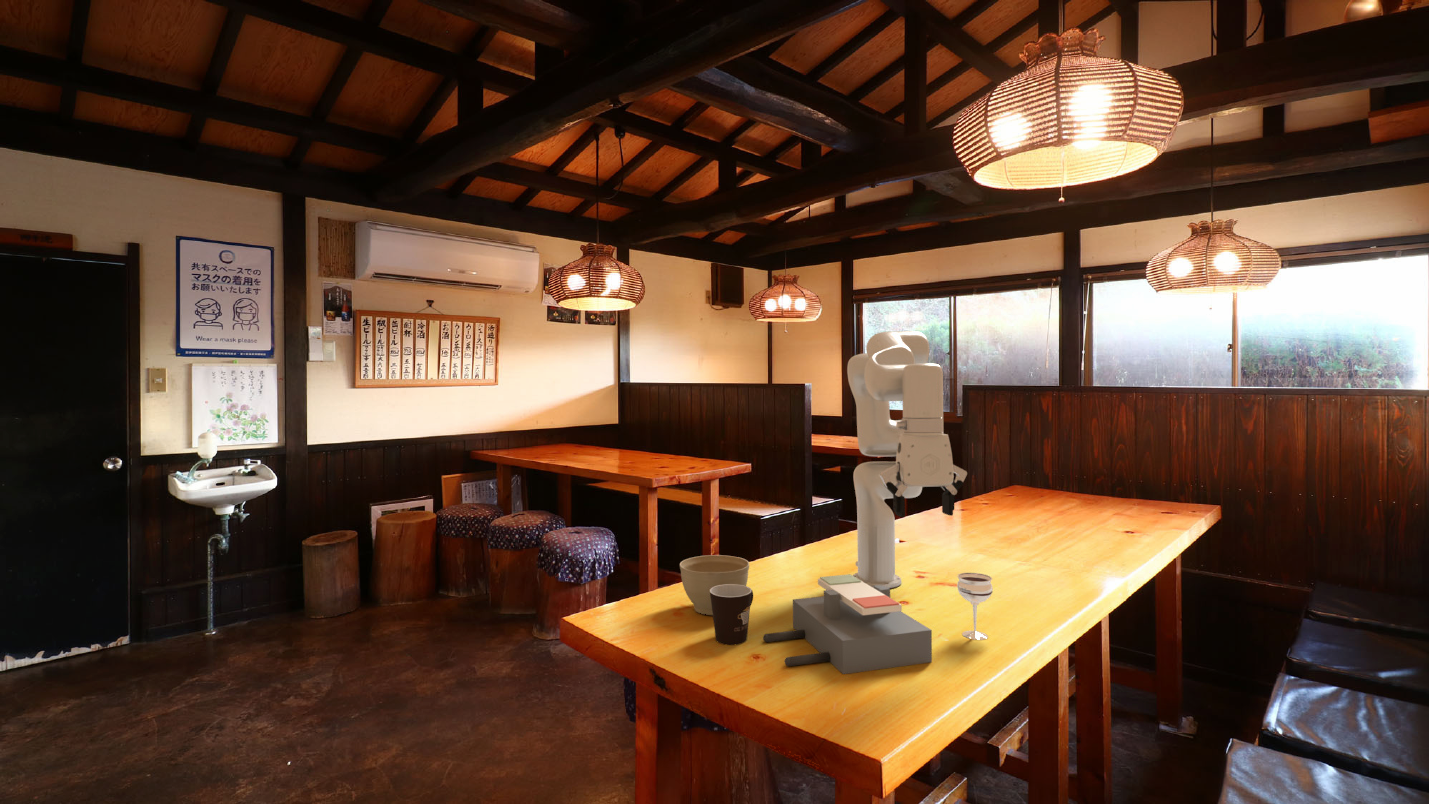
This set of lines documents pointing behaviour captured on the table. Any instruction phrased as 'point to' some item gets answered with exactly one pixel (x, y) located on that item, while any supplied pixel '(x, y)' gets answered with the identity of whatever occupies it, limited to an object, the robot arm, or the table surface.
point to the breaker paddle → (859, 595)
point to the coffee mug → (731, 612)
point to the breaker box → (855, 635)
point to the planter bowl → (711, 577)
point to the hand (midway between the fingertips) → (923, 515)
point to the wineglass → (975, 596)
